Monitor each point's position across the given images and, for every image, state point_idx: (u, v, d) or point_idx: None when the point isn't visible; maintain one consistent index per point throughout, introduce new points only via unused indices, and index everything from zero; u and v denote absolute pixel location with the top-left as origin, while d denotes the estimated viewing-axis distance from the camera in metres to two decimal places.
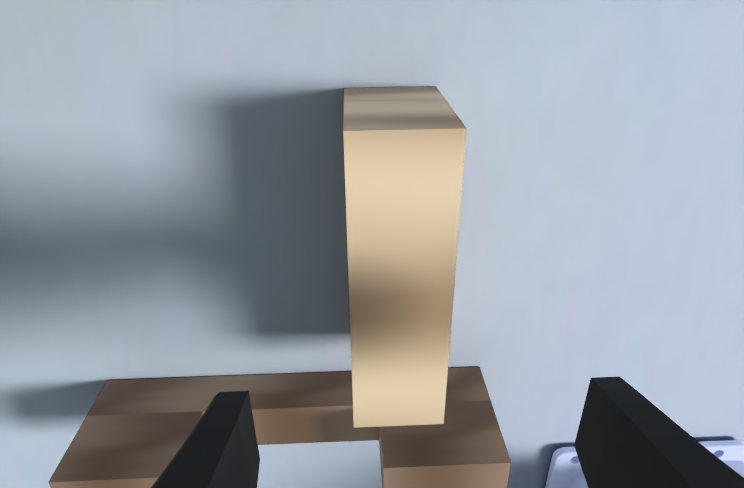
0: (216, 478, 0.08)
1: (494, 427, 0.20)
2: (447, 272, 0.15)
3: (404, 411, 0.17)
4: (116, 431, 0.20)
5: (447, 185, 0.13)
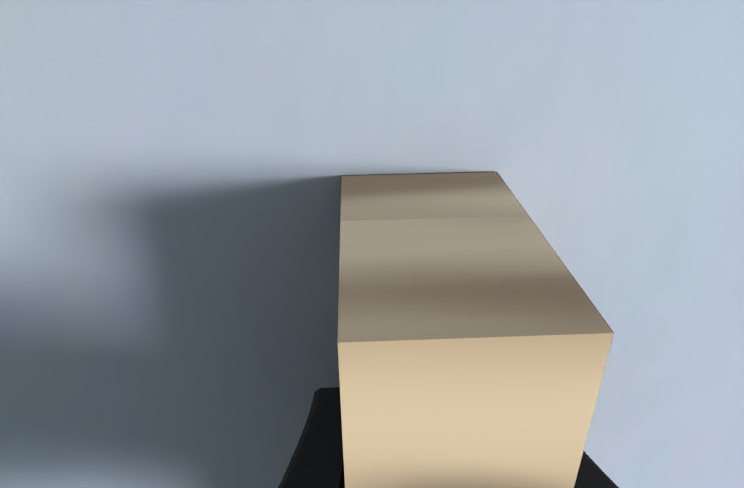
0: (341, 473, 0.09)
1: None
2: None
3: None
4: None
5: (558, 431, 0.06)
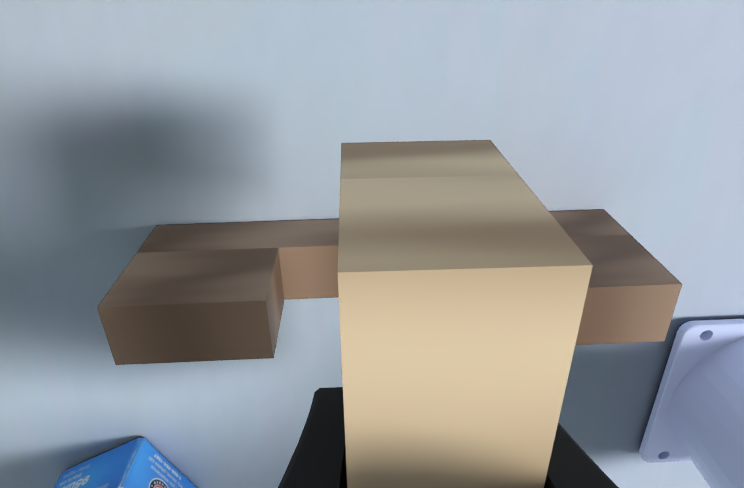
0: (341, 473, 0.09)
1: (646, 256, 0.16)
2: None
3: None
4: (175, 264, 0.16)
5: (542, 363, 0.07)
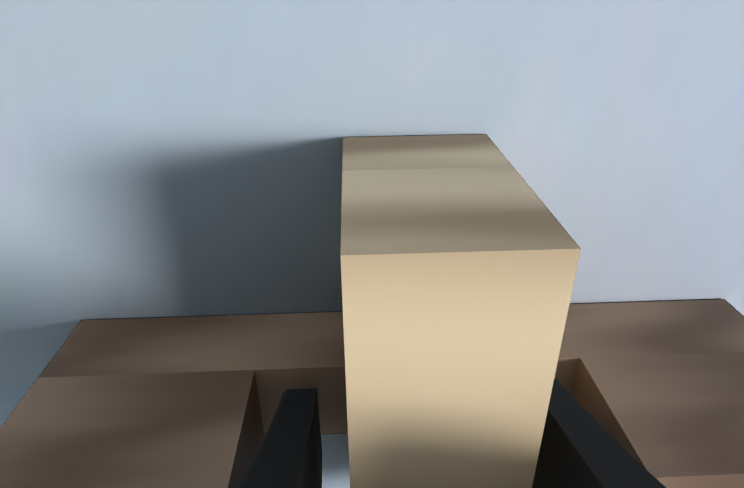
0: (301, 474, 0.09)
1: None
2: (522, 470, 0.08)
3: None
4: (92, 405, 0.10)
5: (534, 343, 0.07)
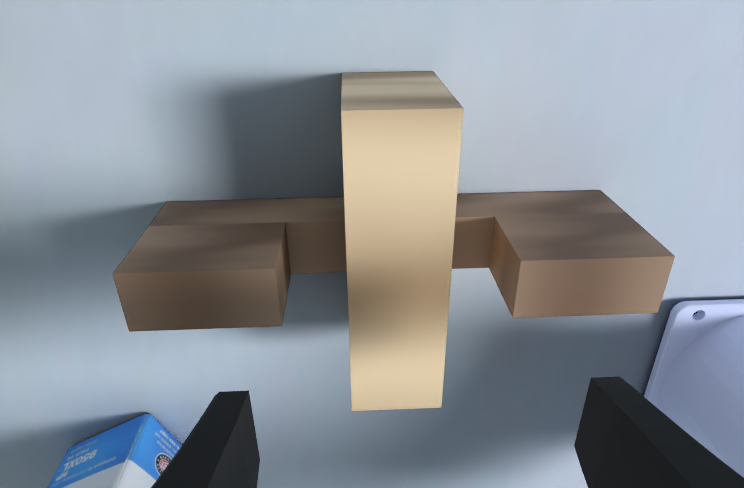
0: (216, 478, 0.08)
1: (640, 231, 0.17)
2: (445, 253, 0.15)
3: (402, 394, 0.17)
4: (186, 236, 0.17)
5: (444, 165, 0.14)
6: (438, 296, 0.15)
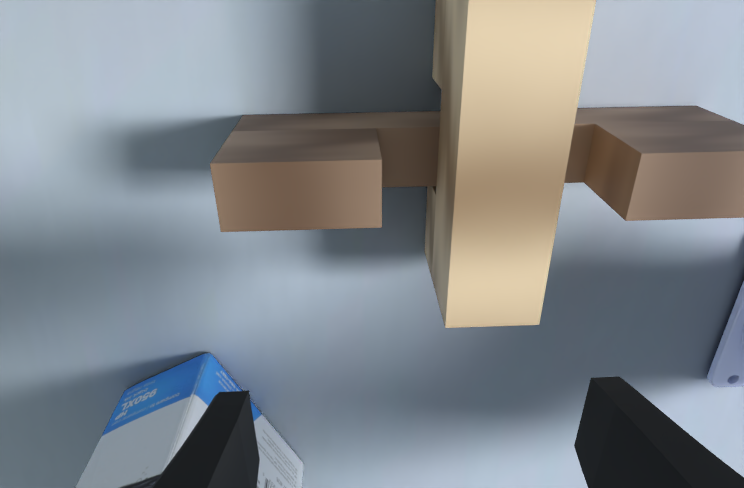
0: (216, 478, 0.08)
1: None
2: (562, 144, 0.14)
3: (500, 309, 0.16)
4: (276, 138, 0.16)
5: (573, 39, 0.13)
6: (550, 194, 0.15)
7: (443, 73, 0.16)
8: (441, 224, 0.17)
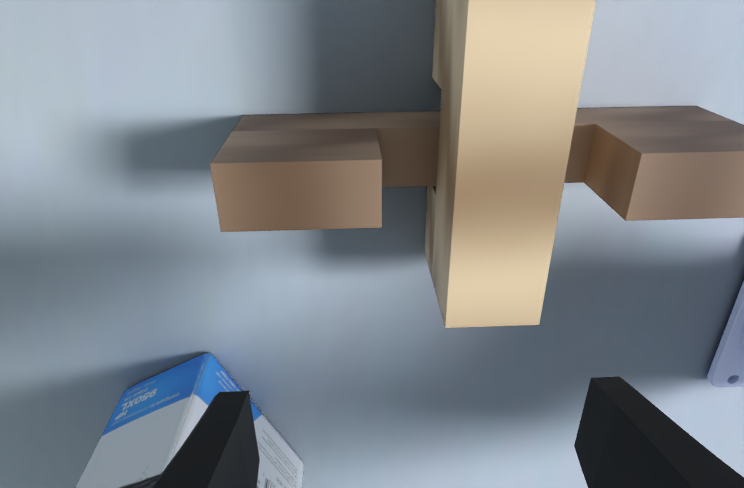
0: (216, 478, 0.08)
1: None
2: (562, 144, 0.14)
3: (500, 309, 0.16)
4: (276, 138, 0.16)
5: (573, 39, 0.13)
6: (550, 194, 0.15)
7: (443, 73, 0.16)
8: (441, 224, 0.17)
